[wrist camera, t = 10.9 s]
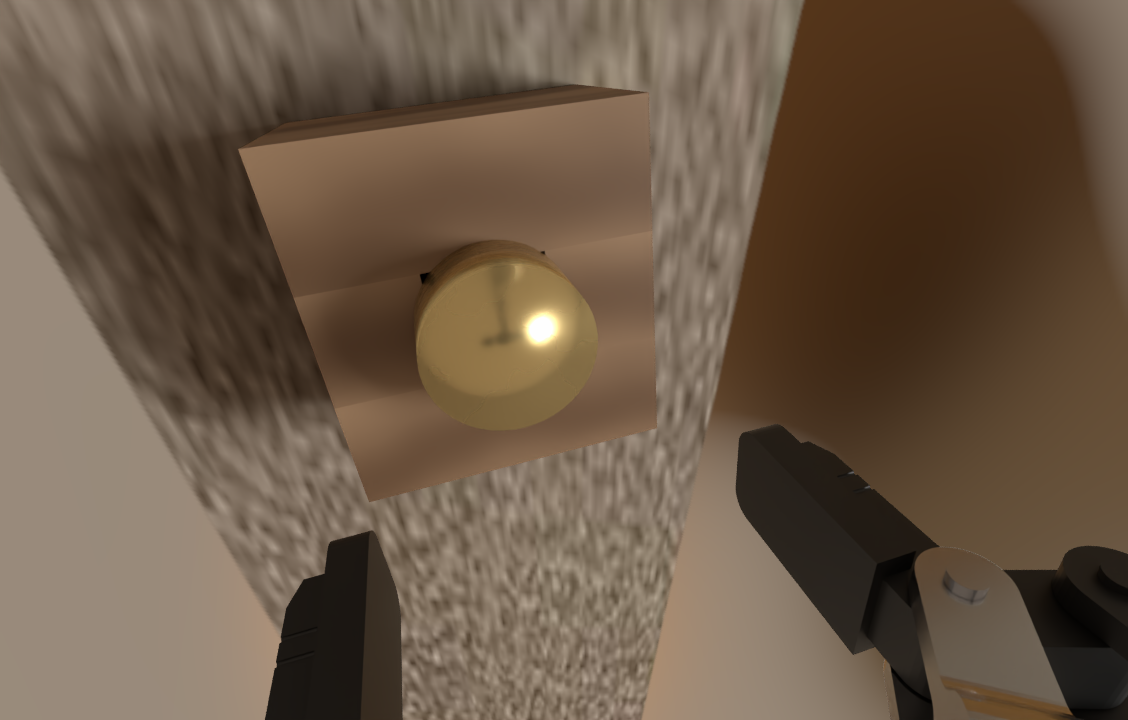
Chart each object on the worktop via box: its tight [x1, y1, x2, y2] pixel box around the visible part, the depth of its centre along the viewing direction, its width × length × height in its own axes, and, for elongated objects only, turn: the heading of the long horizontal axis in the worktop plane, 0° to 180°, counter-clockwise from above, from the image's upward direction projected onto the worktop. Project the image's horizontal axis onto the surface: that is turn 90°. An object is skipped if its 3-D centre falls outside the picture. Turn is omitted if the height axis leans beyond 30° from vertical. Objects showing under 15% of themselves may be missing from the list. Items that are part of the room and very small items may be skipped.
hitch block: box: [238, 85, 657, 502], centre depth 23 cm, size 13×12×8 cm
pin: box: [414, 240, 598, 431], centre depth 21 cm, size 6×6×10 cm
